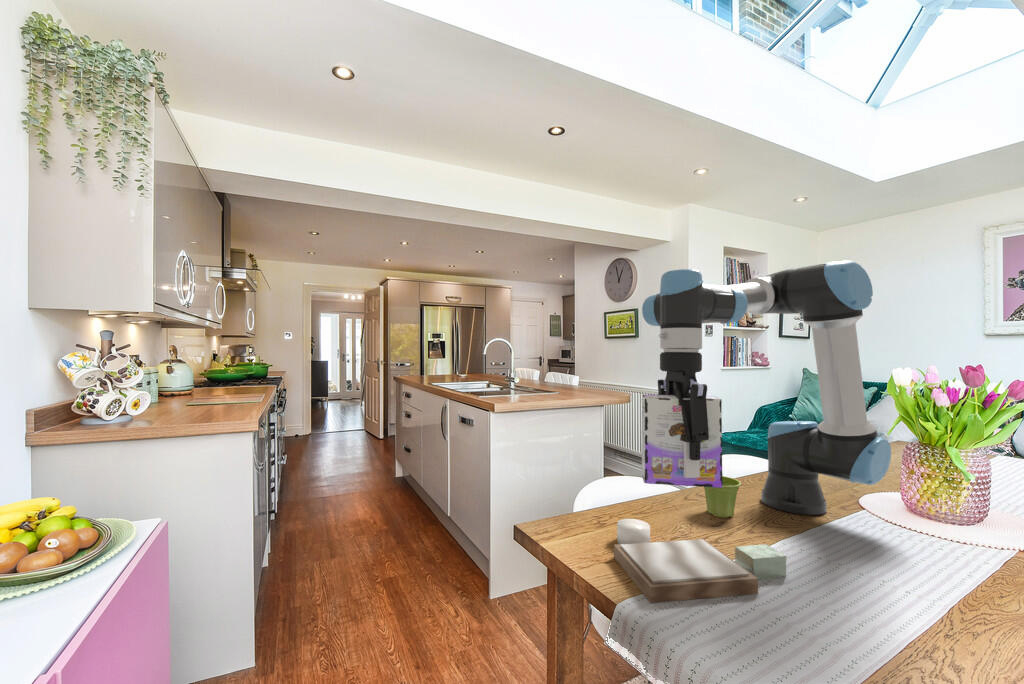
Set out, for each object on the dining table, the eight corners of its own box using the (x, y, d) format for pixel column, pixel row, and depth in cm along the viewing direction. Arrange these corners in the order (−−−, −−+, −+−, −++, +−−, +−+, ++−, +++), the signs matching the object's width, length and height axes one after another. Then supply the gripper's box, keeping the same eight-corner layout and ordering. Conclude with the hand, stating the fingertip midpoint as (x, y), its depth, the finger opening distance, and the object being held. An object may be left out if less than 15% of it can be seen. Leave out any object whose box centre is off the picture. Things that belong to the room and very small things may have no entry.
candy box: (714, 480, 84) (714, 395, 84) (723, 489, 78) (723, 398, 78) (640, 475, 87) (641, 393, 87) (643, 483, 81) (644, 395, 81)
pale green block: (766, 564, 86) (766, 544, 86) (786, 577, 81) (786, 555, 81) (735, 567, 85) (735, 546, 85) (753, 580, 80) (753, 558, 80)
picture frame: (703, 551, 91) (703, 536, 91) (758, 593, 75) (758, 576, 75) (613, 557, 88) (613, 542, 88) (650, 602, 72) (650, 584, 72)
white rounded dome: (641, 535, 99) (641, 517, 99) (656, 549, 92) (656, 530, 92) (612, 537, 98) (612, 519, 98) (625, 551, 91) (625, 532, 91)
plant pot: (743, 523, 106) (742, 487, 106) (701, 517, 110) (701, 483, 110) (738, 510, 115) (738, 477, 115) (700, 505, 118) (700, 473, 119)
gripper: (639, 350, 92) (638, 458, 92) (691, 350, 72) (691, 488, 72) (671, 351, 93) (671, 457, 93) (732, 351, 73) (732, 486, 73)
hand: (680, 470), depth 82 cm, fingers closed on candy box, 7 cm apart
